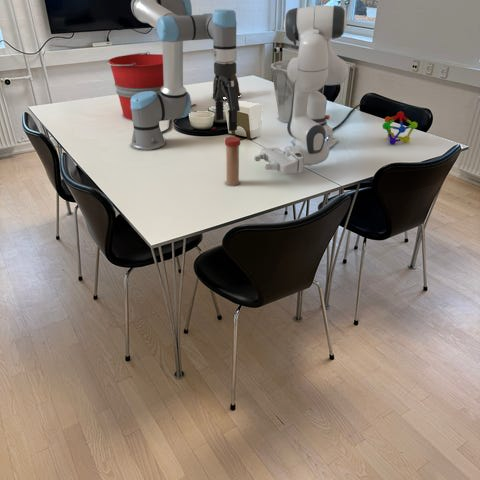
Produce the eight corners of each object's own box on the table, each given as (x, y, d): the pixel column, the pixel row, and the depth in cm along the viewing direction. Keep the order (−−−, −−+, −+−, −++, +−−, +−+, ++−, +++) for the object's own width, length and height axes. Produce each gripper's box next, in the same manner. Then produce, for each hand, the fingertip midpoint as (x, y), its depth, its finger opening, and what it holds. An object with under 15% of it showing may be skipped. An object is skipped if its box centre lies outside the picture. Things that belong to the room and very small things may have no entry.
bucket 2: (296, 131, 225) (301, 73, 210) (257, 117, 244) (258, 64, 229) (334, 119, 242) (340, 65, 227) (294, 108, 260) (297, 57, 246)
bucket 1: (122, 105, 264) (115, 51, 248) (181, 105, 263) (177, 51, 248) (106, 122, 235) (96, 62, 219) (171, 123, 234) (167, 63, 218)
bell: (227, 105, 294) (202, 96, 282) (238, 66, 289) (213, 55, 277) (243, 108, 280) (217, 98, 268) (255, 66, 275) (229, 55, 263)
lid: (243, 145, 162) (243, 140, 161) (229, 147, 160) (229, 142, 159) (235, 140, 166) (235, 135, 165) (222, 143, 164) (222, 138, 163)
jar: (241, 184, 171) (241, 141, 161) (230, 186, 169) (230, 143, 159) (234, 179, 174) (234, 137, 165) (224, 182, 172) (223, 139, 163)
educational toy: (377, 146, 209) (379, 114, 202) (384, 138, 219) (386, 107, 211) (411, 149, 202) (415, 116, 195) (417, 141, 212) (420, 109, 204)
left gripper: (203, 56, 156) (205, 116, 167) (227, 69, 136) (228, 136, 147) (223, 55, 158) (224, 114, 169) (249, 67, 138) (249, 133, 149)
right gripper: (279, 141, 183) (249, 146, 178) (305, 158, 168) (273, 164, 163) (278, 156, 187) (248, 161, 182) (303, 174, 171) (272, 180, 166)
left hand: (226, 125), depth 158 cm, fingers open, 13 cm apart
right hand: (260, 162), depth 172 cm, fingers open, 8 cm apart
